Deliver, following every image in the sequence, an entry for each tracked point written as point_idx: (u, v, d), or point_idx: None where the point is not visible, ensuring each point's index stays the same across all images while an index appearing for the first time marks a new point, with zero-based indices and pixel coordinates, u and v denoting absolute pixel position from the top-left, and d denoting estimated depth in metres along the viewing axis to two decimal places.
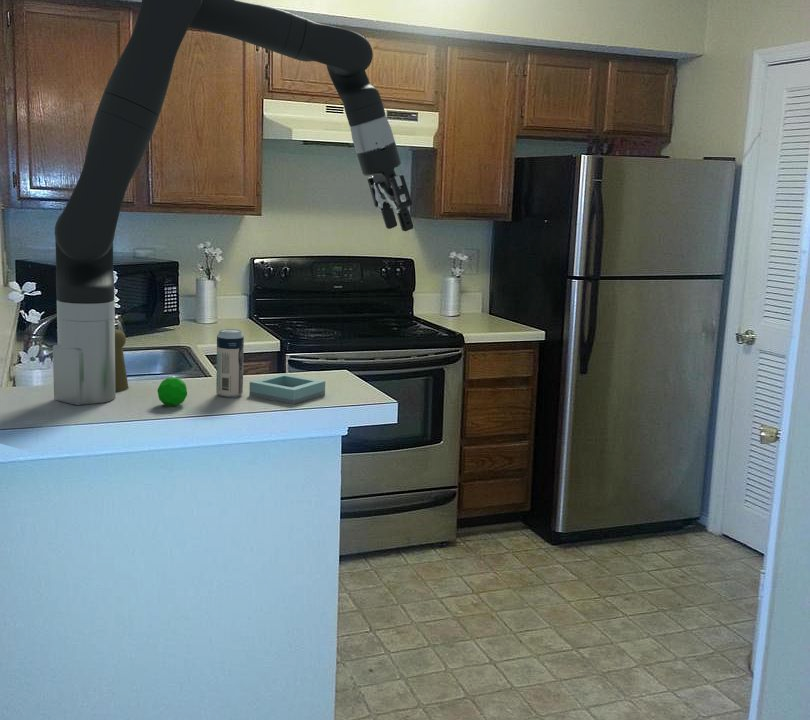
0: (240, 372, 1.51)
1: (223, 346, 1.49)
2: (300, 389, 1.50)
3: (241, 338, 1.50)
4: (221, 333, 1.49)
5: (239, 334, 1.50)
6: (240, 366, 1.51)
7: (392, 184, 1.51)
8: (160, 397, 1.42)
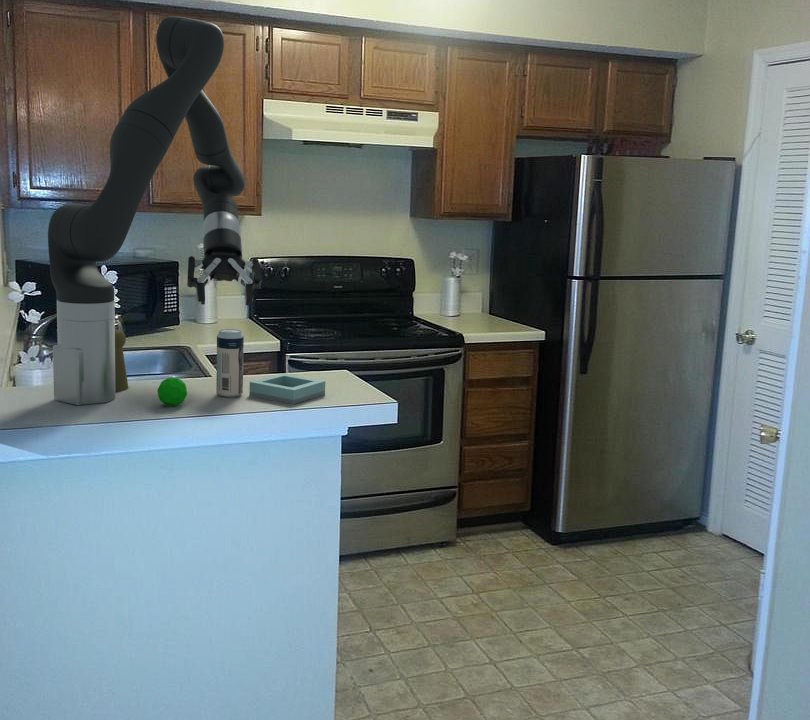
0: (240, 372, 1.51)
1: (223, 346, 1.49)
2: (300, 389, 1.50)
3: (241, 338, 1.50)
4: (221, 333, 1.49)
5: (239, 334, 1.50)
6: (240, 366, 1.51)
7: (257, 263, 1.67)
8: (160, 397, 1.42)
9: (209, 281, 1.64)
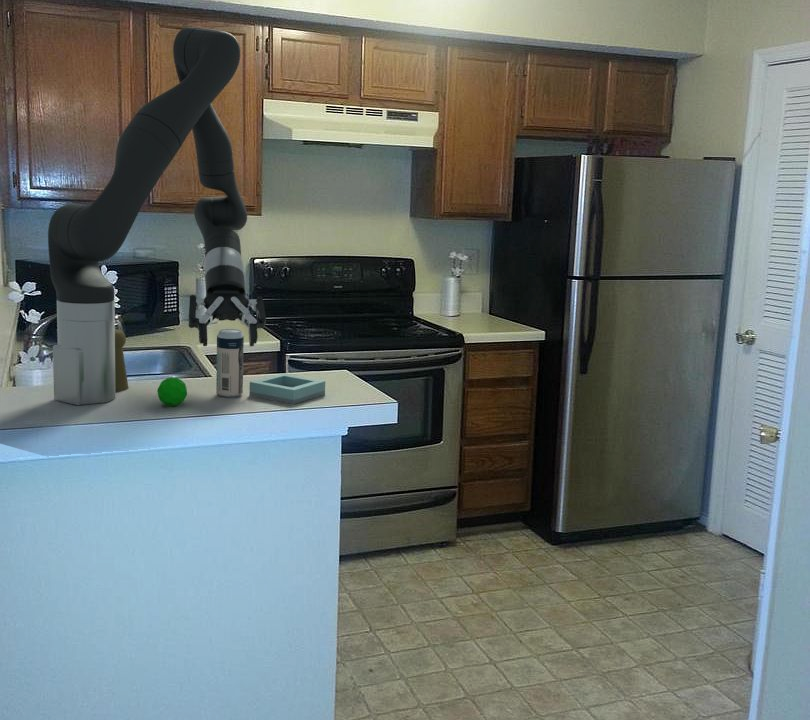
0: (240, 372, 1.51)
1: (223, 346, 1.49)
2: (300, 389, 1.50)
3: (241, 338, 1.50)
4: (221, 333, 1.49)
5: (239, 334, 1.50)
6: (240, 366, 1.51)
7: (261, 301, 1.60)
8: (160, 397, 1.42)
9: (211, 321, 1.57)
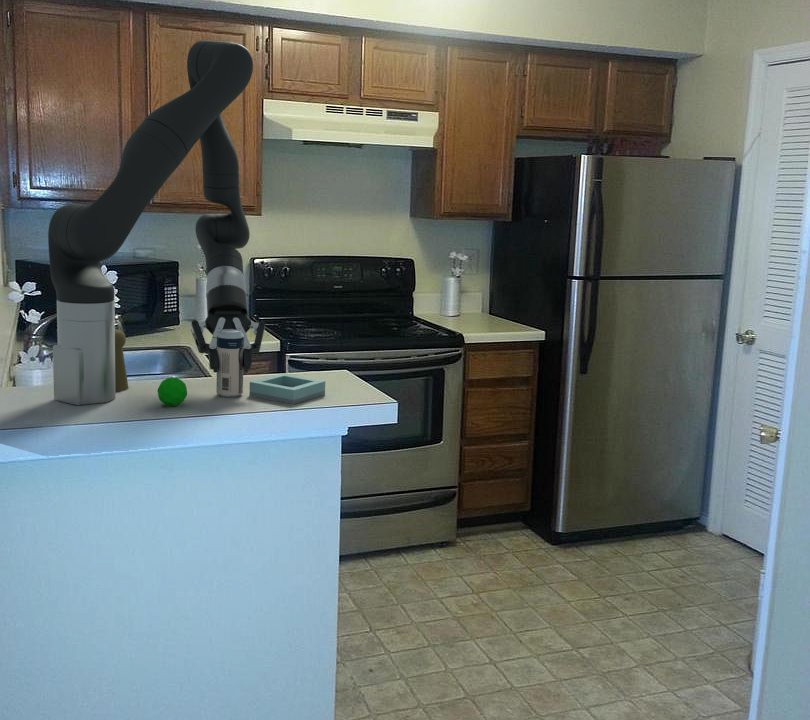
0: (240, 372, 1.51)
1: (223, 346, 1.49)
2: (300, 389, 1.50)
3: (241, 338, 1.50)
4: (221, 333, 1.49)
5: (239, 334, 1.50)
6: (240, 366, 1.51)
7: (262, 326, 1.56)
8: (160, 397, 1.42)
9: None
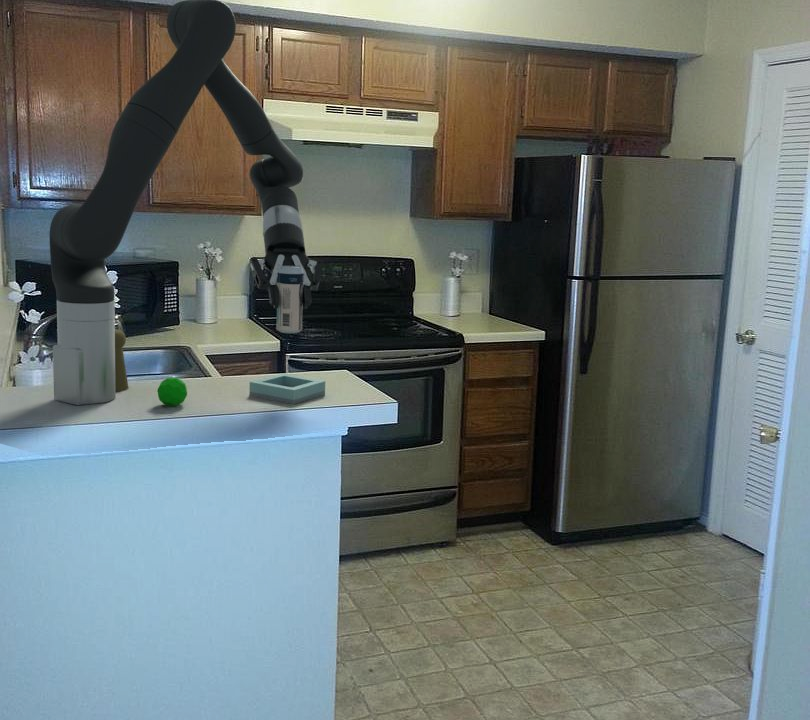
0: (300, 308, 1.52)
1: (284, 281, 1.49)
2: (300, 389, 1.50)
3: (302, 274, 1.50)
4: (282, 268, 1.50)
5: (300, 270, 1.50)
6: (300, 302, 1.51)
7: (320, 264, 1.56)
8: (160, 397, 1.42)
9: None
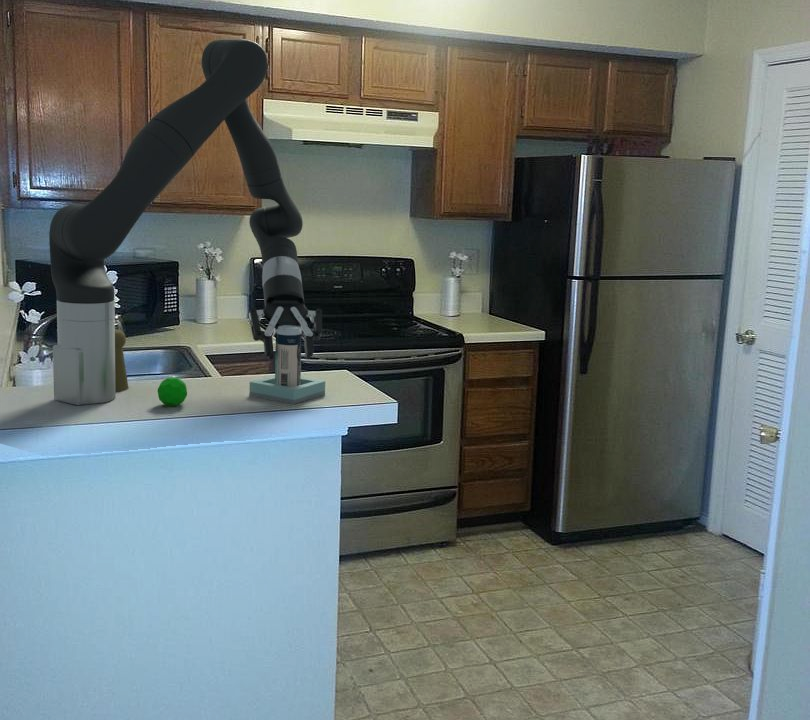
0: (298, 368, 1.53)
1: (282, 342, 1.51)
2: (300, 389, 1.50)
3: (299, 334, 1.52)
4: (280, 330, 1.51)
5: (297, 330, 1.52)
6: (298, 362, 1.53)
7: (320, 314, 1.58)
8: (160, 397, 1.42)
9: (274, 332, 1.56)
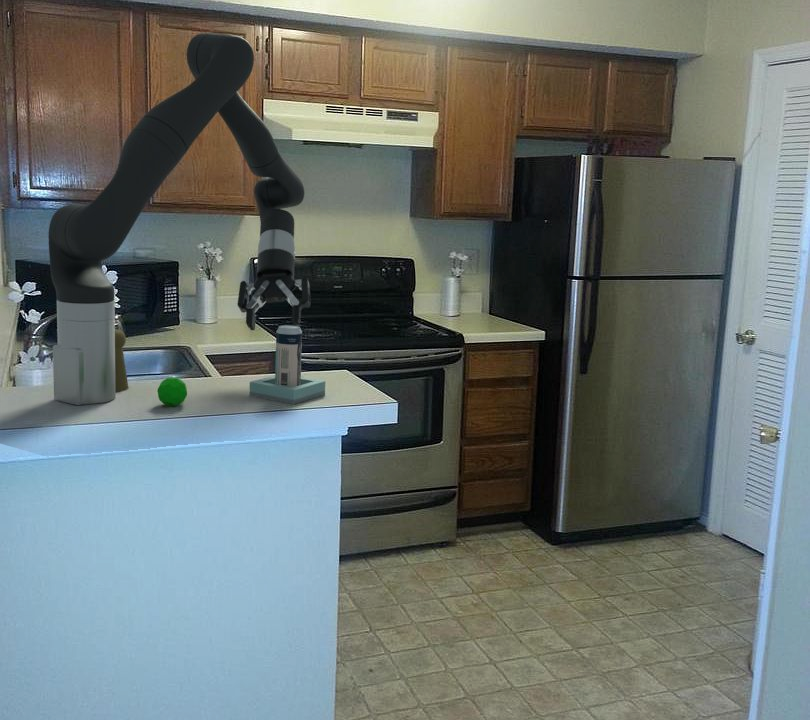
0: (298, 367, 1.54)
1: (282, 342, 1.52)
2: (300, 389, 1.50)
3: (300, 334, 1.53)
4: (280, 329, 1.52)
5: (298, 330, 1.52)
6: (298, 362, 1.53)
7: (305, 281, 1.66)
8: (160, 397, 1.42)
9: (261, 304, 1.67)
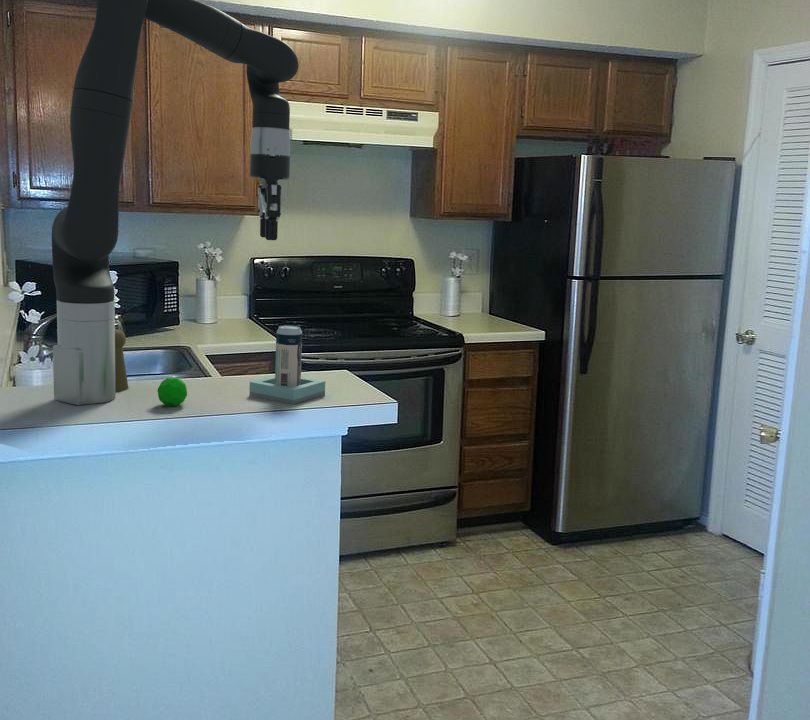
0: (298, 368, 1.53)
1: (282, 342, 1.51)
2: (300, 389, 1.50)
3: (300, 334, 1.52)
4: (280, 329, 1.52)
5: (298, 330, 1.52)
6: (298, 362, 1.53)
7: (267, 191, 1.54)
8: (160, 397, 1.42)
9: None
